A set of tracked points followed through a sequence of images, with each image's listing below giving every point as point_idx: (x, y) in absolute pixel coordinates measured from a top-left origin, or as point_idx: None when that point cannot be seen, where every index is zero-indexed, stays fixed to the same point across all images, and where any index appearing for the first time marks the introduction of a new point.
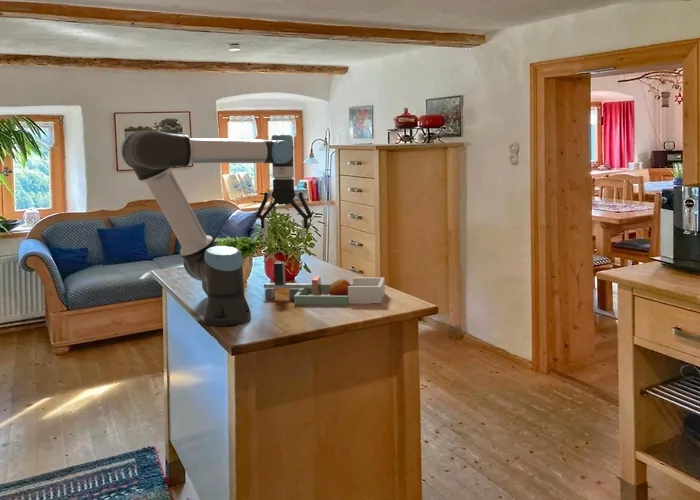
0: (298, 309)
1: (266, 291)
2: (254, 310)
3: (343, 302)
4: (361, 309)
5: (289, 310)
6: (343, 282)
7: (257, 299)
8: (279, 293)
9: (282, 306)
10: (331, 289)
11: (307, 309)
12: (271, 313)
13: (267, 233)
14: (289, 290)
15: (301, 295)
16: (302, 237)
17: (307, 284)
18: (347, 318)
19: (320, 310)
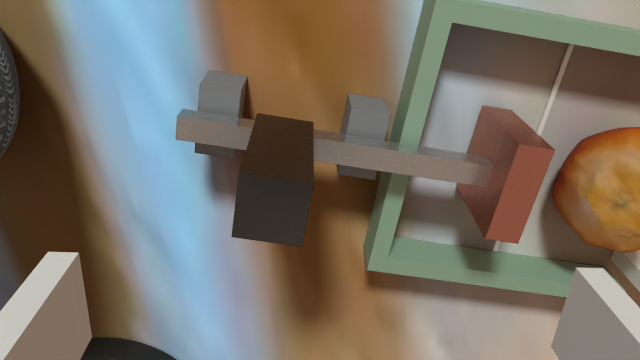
0: (382, 314)
1: (204, 151)
2: (194, 308)
3: None
4: None
5: (344, 322)
6: None
7: (162, 137)
8: (266, 19)
9: (310, 268)
10: (572, 226)
11: (420, 318)
12: (274, 350)
13: (59, 286)
14: (339, 173)
15: (404, 264)
16: (559, 348)
17: (451, 179)
18: None
19: (472, 334)
